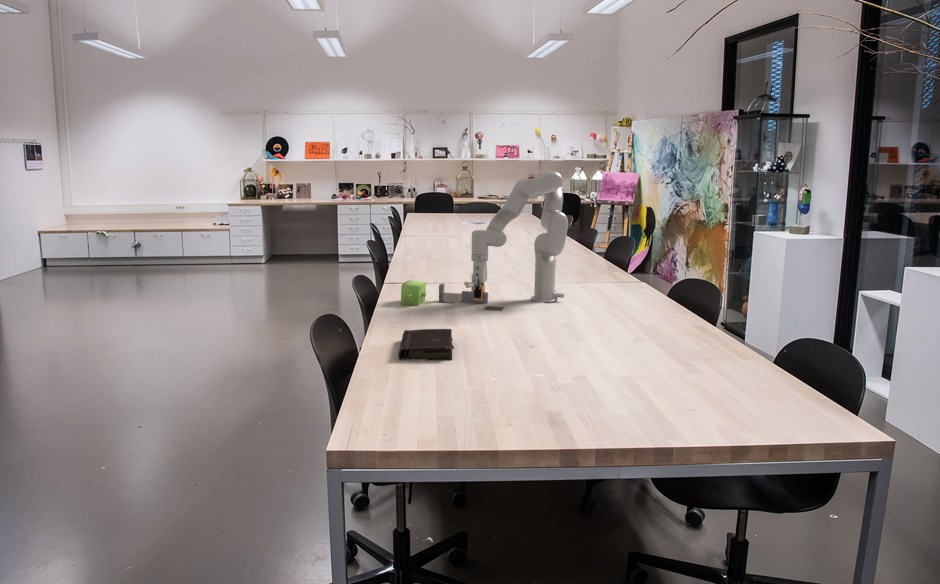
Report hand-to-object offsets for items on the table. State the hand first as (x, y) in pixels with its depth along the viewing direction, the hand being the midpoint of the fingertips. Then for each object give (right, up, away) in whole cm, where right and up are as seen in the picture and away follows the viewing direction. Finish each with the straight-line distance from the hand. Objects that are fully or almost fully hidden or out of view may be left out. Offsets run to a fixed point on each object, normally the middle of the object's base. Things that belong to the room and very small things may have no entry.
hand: (479, 296), depth 323 cm
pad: (+6, -6, -11) cm, 14 cm away
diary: (-19, -19, -76) cm, 81 cm away
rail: (-7, -3, +2) cm, 8 cm away
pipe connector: (-3, 0, +20) cm, 21 cm away
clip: (0, -1, 0) cm, 1 cm away
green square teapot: (-30, -3, -1) cm, 30 cm away
